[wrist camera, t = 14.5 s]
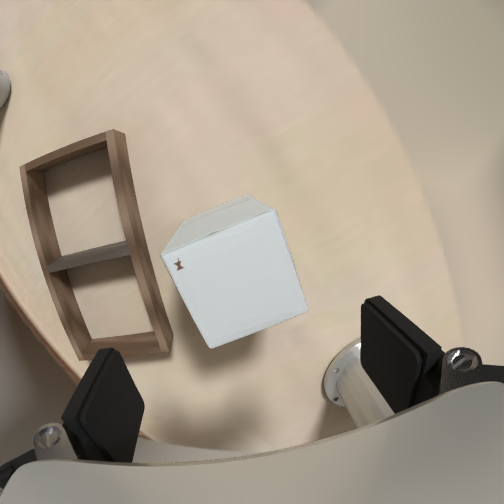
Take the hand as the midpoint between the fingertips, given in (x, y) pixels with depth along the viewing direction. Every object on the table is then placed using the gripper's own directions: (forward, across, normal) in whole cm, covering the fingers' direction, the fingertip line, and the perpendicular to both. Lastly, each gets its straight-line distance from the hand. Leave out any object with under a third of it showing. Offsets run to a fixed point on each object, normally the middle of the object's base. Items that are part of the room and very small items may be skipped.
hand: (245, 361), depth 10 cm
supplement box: (+20, 0, 0) cm, 20 cm away
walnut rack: (+20, +14, -2) cm, 25 cm away
